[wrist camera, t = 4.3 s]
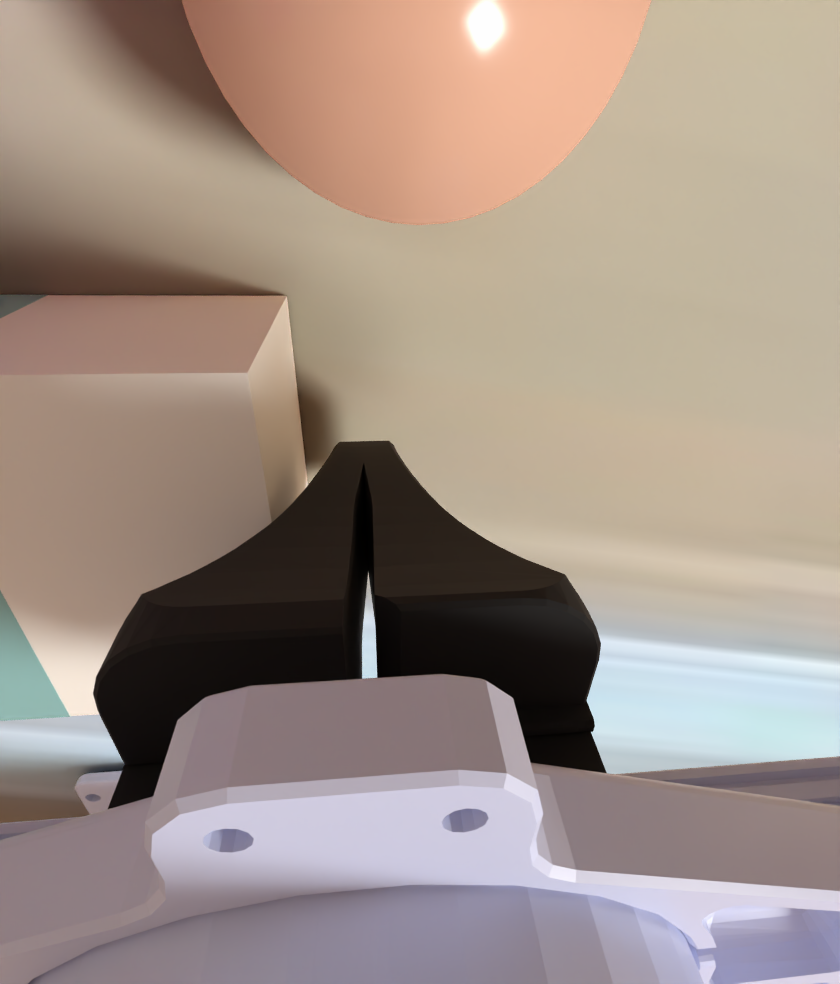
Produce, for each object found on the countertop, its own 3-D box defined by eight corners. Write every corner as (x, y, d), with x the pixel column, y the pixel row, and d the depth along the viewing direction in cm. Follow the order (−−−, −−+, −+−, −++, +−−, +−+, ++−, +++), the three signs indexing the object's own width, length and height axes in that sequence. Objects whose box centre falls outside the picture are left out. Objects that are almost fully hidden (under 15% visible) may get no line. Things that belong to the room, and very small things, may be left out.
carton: (316, 565, 15) (301, 702, 12) (-15, 578, 15) (-146, 729, 11) (286, 295, 11) (247, 372, 8) (-176, 294, 11) (-476, 378, 7)
